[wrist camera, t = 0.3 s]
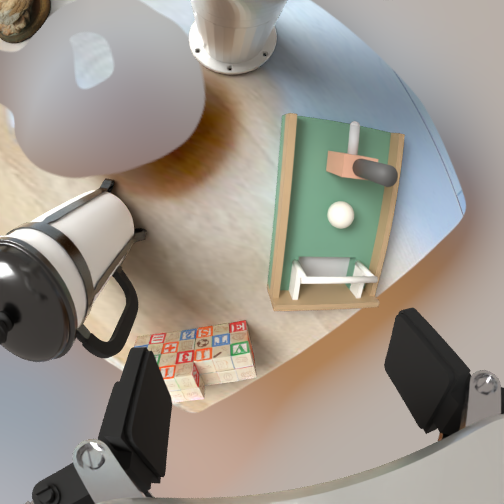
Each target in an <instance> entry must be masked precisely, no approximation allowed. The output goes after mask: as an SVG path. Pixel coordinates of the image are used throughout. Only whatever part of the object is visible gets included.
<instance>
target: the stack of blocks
mask: <svg viewBox="0 0 504 504" xmlns="http://www.w3.org/2000/svg"><path fill="white" fill-rule="evenodd" d="M136 347H147V349H148V351H152V352H153V353H154V356H155V359H156V361H157V364H158V366H159V369H160V371H161V374H162V376H163V379H164V381H165V384H166V386H167V388H168V391H169V393H170V395H171V399H172V402H182V401H190V400H198V399H204V395H205V386H206V385H213V384H220V383H229V382H235V381H239V380H246V379H251V378H256V377H257V376H256V369H255V361H254V354H253V349H252V344H251V340H250V335H249V331H248V326H247V323H246V320H244V321H239V322H234V323H230V324H229V323H226V324H220V325H215V326H208V327H201V328H197V329H191V330H184V331H178V332H171V333H161V334H154V335H145V336H138V337H137V340H136V342H135V345H134V348H136Z"/></svg>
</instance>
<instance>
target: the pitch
mask: <svg viewBox="0 0 504 504" xmlns="http://www.w3.org/2000/svg"><path fill="white" fill-rule="evenodd" d="M349 131H350V124H347V123H342V122H336V121H330V120H324V119H317V118H310V117H303V116H297V114H293V113H289V114H286V115H283V116H282V124H281V138H280V151H279V163H278V176H277V188H276V199H275V211H274V222H273V233H272V244H271V254H270V265H269V275H268V285H267V289H268V293H269V296H270V299H271V303H272V306H273V310H274V311H301V310H330V309H351V308H367V307H368V308H369V307H378V306H379V300H378V299H377V298H376V297H375V293H376V289H377V286H378V282H379V278H380V274H381V270H382V266H383V262H384V258H385V254H386V249H387V245H388V240H389V236H390V231H391V226H392V221H393V216H394V210H395V204H396V198H397V192H398V186H399V179H400V172H401V164H402V156H403V147H404V136H405V135H404V134H400V133H390V132H385V131H381V130H377V129H372V128H367V127H363V126H360V133H359V144H358V154H357V155H360V156H365V157H370V158H375V159H378V162H379V163H383V164H387V165H391V166H393V167H394V168H395V169H396V170H397V173H398V178H397V181H396V183H395V184H394V185H393V186H391V187H385V186H383V185H380V184H377V183H375V182H372V181H369V180H362V179H354V178H346V177H341V176H338V175H335V174H333V173H330V172H328V171H326V167H327V157H328V151H334V152H341V153H348V142H349ZM338 201H343V202H346V203H348V204H349V205H350V206H351V207H352V208H353V211H354V220H353V222H352V223H351V225H350V226H348V227H346V228H343V229H339V228H336V227H334V226H332V225H331V224H330V222H329V220H328V217H327V213H328V209H329V207H330V206H331V205H332V204H333V203H335V202H338Z"/></svg>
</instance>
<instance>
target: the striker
mask: <svg viewBox="0 0 504 504" xmlns="http://www.w3.org/2000/svg"><path fill="white" fill-rule="evenodd" d="M359 133H360V124H359V123H358V122H356V121H353V122H351V124H350V131H349V142H348V153H341V152H334V151H328V157H327V167H326V171H328V172H330V173H333V174H335V175H338V176H341V177H346V178H354V179H362V180H369V181H372V182H375V183H377V184H380V185H383V186H385V187H391V186H393V185H394V184H395V183H396V181H397V178H398V173H397V170H396V169H395V168H394V167H393V166H391V165H387V164H383V163H379V162H378V159H375V158H370V157H365V156H360V155H357V154H358V144H359Z"/></svg>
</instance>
